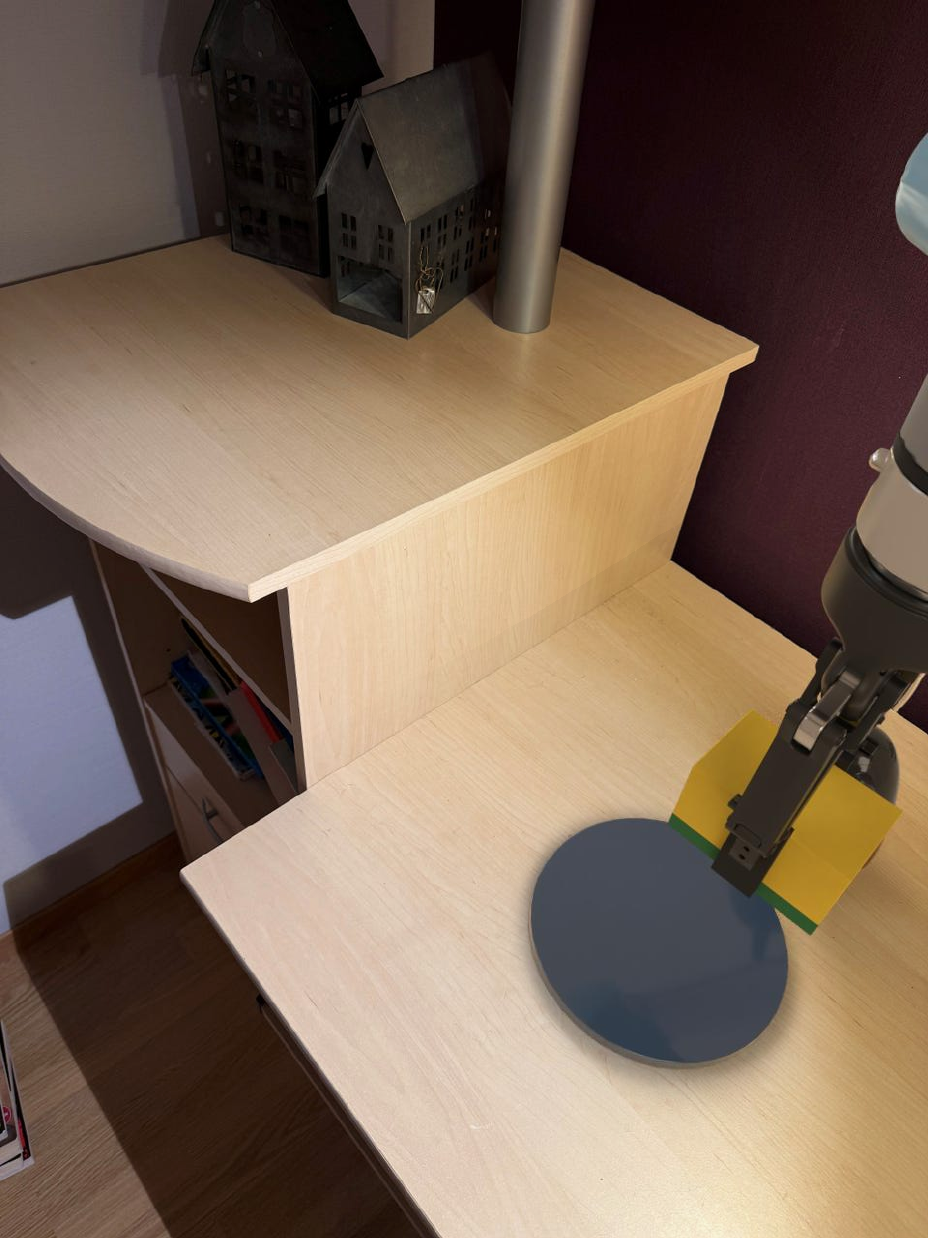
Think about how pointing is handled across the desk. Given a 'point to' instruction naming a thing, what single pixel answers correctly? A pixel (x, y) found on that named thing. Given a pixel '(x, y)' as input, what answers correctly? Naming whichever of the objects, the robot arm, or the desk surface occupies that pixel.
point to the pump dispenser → (878, 771)
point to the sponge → (824, 831)
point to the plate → (655, 946)
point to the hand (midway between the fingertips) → (764, 842)
